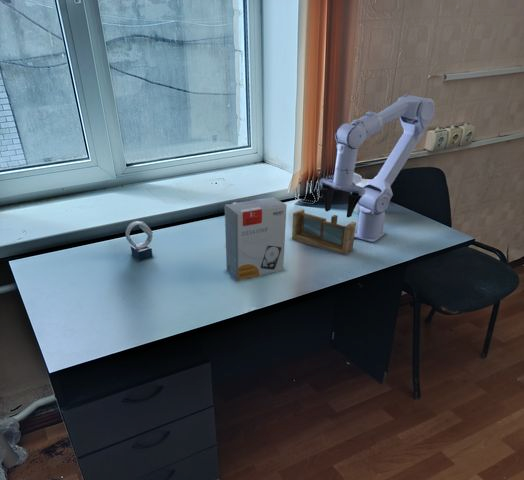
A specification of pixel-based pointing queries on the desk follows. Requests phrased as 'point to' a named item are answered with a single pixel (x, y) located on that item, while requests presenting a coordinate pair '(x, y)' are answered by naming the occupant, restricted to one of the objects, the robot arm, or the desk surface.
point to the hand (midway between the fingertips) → (338, 213)
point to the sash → (332, 232)
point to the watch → (141, 249)
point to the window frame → (309, 232)
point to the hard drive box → (255, 237)
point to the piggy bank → (360, 182)
